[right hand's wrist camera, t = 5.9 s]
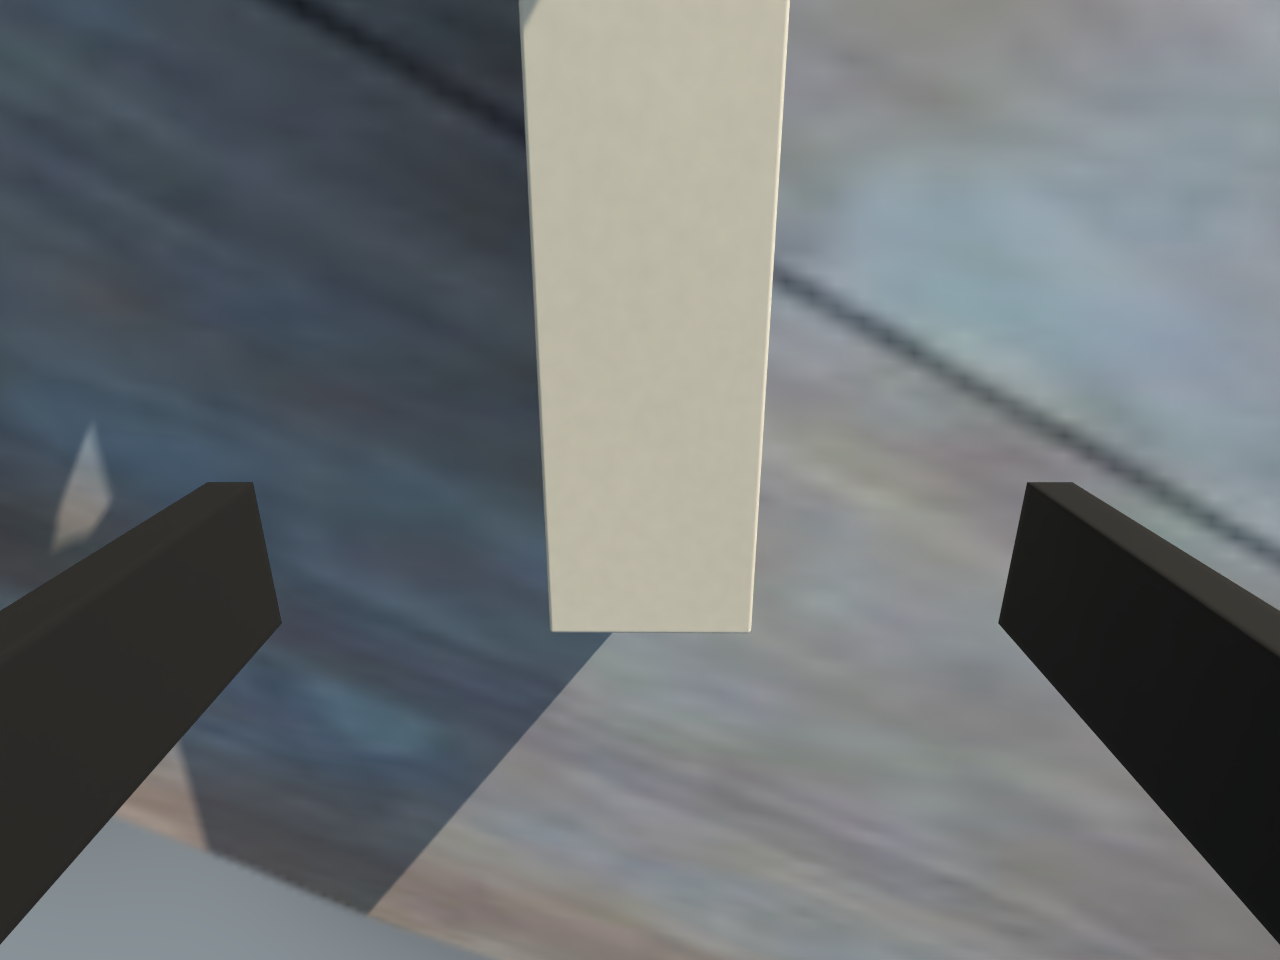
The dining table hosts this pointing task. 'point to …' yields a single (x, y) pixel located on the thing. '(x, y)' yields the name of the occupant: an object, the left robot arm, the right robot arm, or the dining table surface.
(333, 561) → the dining table surface
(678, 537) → the beam
